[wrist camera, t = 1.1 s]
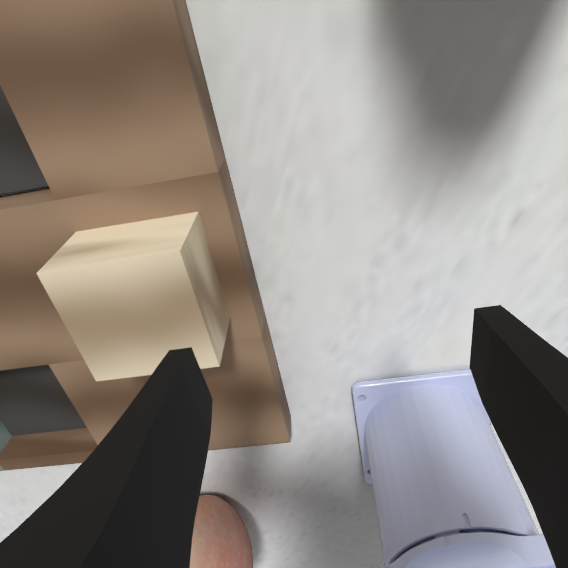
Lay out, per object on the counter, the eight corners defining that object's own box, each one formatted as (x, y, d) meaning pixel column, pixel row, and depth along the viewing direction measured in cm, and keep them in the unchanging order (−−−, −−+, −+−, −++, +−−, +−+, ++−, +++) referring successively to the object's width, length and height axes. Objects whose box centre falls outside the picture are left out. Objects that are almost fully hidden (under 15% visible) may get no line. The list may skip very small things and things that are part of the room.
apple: (157, 529, 36) (123, 653, 29) (145, 469, 32) (103, 597, 25) (257, 534, 36) (247, 659, 29) (258, 475, 32) (247, 604, 25)
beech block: (230, 316, 22) (219, 366, 19) (122, 330, 22) (96, 381, 19) (198, 211, 19) (179, 251, 16) (76, 231, 19) (36, 273, 16)
